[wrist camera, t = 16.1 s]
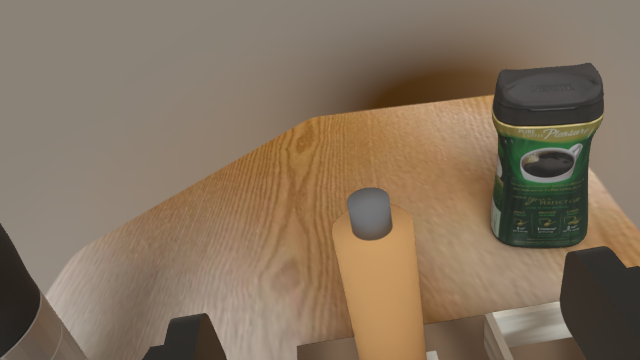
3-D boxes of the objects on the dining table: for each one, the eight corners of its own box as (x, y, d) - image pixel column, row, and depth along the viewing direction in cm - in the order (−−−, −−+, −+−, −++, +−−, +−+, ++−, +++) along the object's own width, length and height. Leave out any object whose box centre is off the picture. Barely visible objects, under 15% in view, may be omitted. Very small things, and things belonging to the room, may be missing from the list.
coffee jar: (576, 205, 57) (599, 48, 47) (591, 253, 51) (622, 85, 40) (487, 205, 60) (490, 57, 49) (491, 251, 53) (495, 92, 43)
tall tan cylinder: (358, 395, 40) (312, 198, 30) (406, 365, 42) (379, 166, 31) (392, 444, 37) (354, 239, 26) (444, 409, 38) (428, 202, 27)
